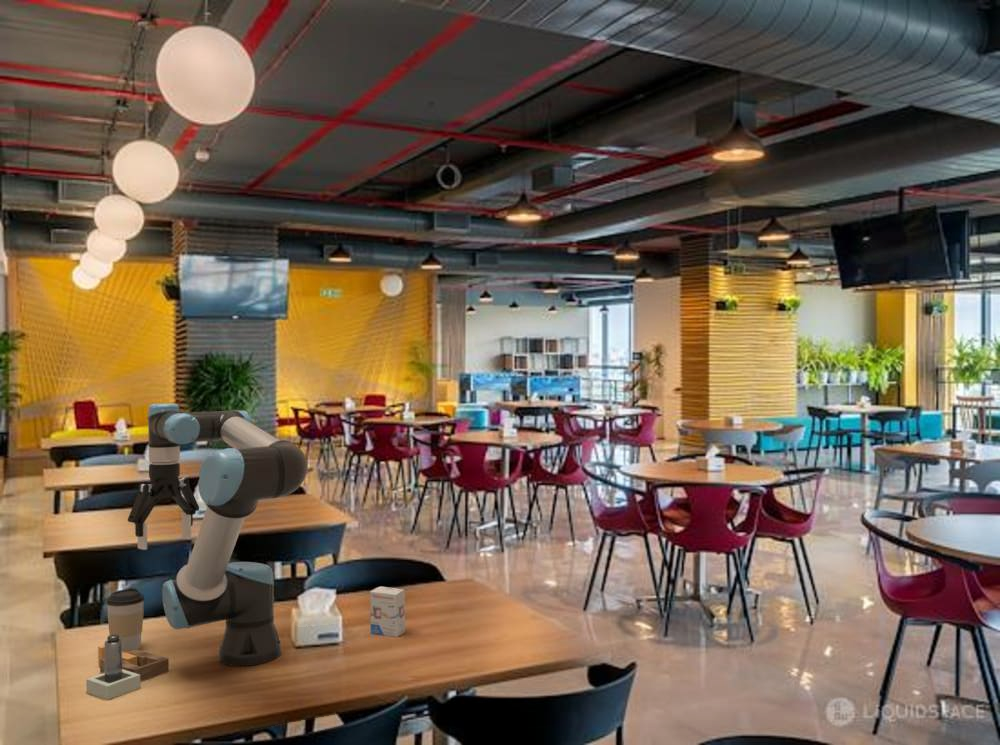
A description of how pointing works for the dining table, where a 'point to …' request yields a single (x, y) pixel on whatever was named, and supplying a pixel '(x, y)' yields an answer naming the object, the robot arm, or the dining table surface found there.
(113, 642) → the dark grey cylinder
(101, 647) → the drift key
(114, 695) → the square frame
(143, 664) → the socket block
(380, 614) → the ink box
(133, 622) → the coffee cup
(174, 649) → the dining table surface
